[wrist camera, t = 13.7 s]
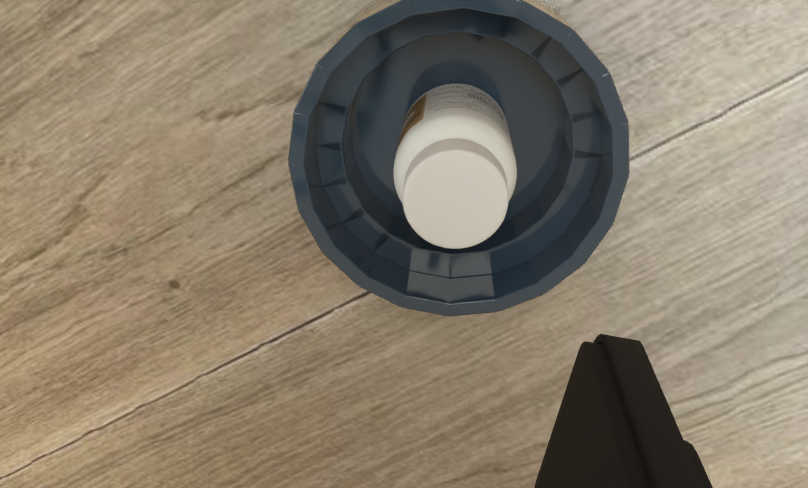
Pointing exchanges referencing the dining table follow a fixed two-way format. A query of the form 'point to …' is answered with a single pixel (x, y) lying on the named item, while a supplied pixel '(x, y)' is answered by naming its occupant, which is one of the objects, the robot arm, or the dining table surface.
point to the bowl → (530, 135)
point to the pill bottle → (455, 166)
